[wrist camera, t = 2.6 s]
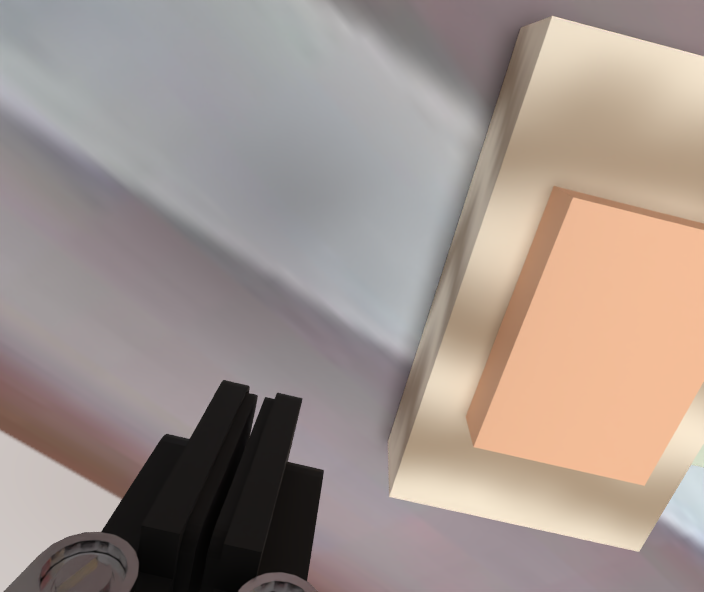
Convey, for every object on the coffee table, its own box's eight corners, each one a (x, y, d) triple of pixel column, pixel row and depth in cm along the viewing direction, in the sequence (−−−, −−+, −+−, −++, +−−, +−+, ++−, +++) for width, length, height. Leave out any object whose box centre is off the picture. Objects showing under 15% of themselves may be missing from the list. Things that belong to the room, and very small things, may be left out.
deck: (520, 27, 21) (552, 16, 17) (811, 104, 21) (904, 109, 17) (387, 441, 28) (389, 496, 24) (605, 490, 29) (638, 551, 25)
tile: (553, 185, 19) (573, 197, 17) (740, 232, 19) (779, 249, 17) (465, 416, 23) (473, 447, 21) (623, 453, 23) (644, 485, 21)
